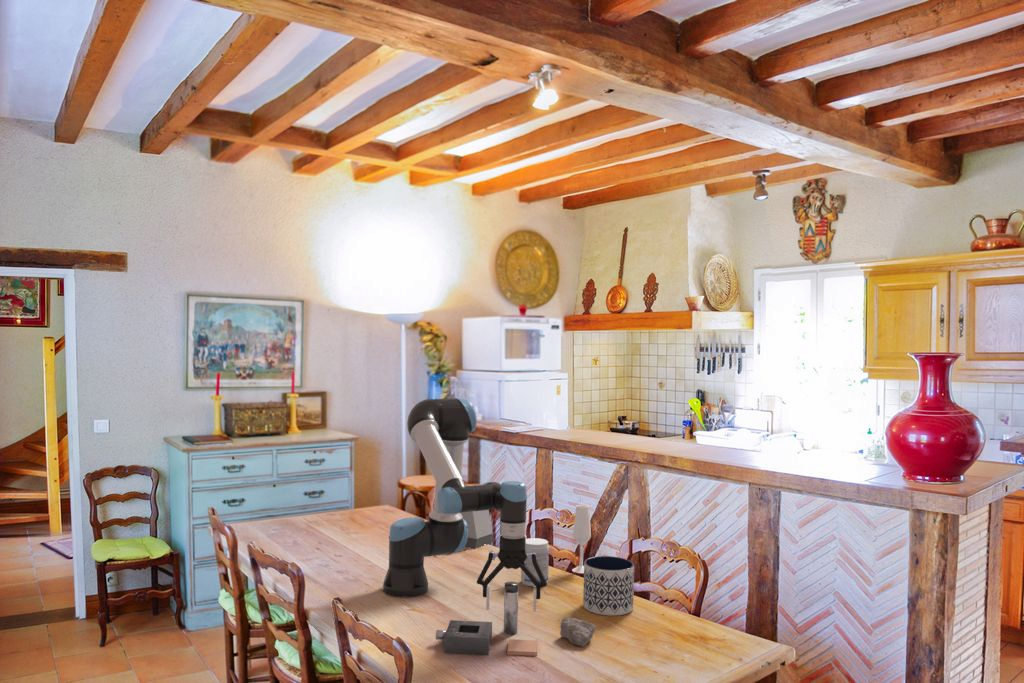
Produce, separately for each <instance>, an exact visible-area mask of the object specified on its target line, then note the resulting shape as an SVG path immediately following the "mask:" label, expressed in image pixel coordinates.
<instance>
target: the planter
mask: <svg viewBox="0 0 1024 683" xmlns="http://www.w3.org/2000/svg"><path fill="white" fill-rule="evenodd" d="M583 566H584V573H583V594H582V595H583V596H582V598H583V599H582V602H583V603H582V606H583V607H584V609H585V610H587V611H588V612H590V613H592V612H593V613H592V614H596V615H599V614H600V615H601V616H609V617H614V616H615V617H617V616H618V617H619V616H624V615H627V614H629V613H631V612H632V611H633V610H634V591H635V583H634V582H635V564H634V562H633V561H631V560H629V559H627V558H622V557H618V556H608V555H598V556H593V557H592V556H591V557H588V558H586V559H585V560H583ZM600 615H599V616H600Z"/></svg>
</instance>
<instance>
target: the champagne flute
mask: <svg viewBox="0 0 1024 683" xmlns="http://www.w3.org/2000/svg"><path fill="white" fill-rule="evenodd" d="M590 513H591V512H590V505H587V504H576V506H575V514H574V523H573V532H572V536H573V539H574V541H576V542H577V544H578V545H579V565H577V566H576V567H574V568H572V570H571V571H572V572H573V573H577V574H584V545H585V544H586V543H588V542H589V541H590V539H591V538H592V533H591V532H592V531H591V518H590V517H591V516H590V515H591V514H590Z"/></svg>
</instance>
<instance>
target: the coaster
mask: <svg viewBox="0 0 1024 683" xmlns="http://www.w3.org/2000/svg"><path fill="white" fill-rule="evenodd" d="M507 643H508V644H507V652H506V653H507V654H506V655H510V656H511V655H513V656H532V657H533V656H534V657H536V656H538V645H539V644H538V643H539V642H538V640H535V639H515V638H514V639H512V638H511V639H510V638H509V639H508V642H507Z"/></svg>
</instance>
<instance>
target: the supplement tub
mask: <svg viewBox="0 0 1024 683" xmlns="http://www.w3.org/2000/svg"><path fill="white" fill-rule="evenodd" d="M525 551H526V554H530V553H533V552H535V553H536V560H537V562H538V564H539V566H540V568H541V570H542V572H543V575H544V577H545V579H546V581H547V584H548V583H549V560H550V558H549V556H550V555H549V551H550V548H549V541H548V540H547V539H544V538H539V537H536V538H535V537H533V538H530V537H529V538H526V545H525ZM524 563H525V564H526V565H527V567H528V568H529V569H530V571H531V572H532V573H533V574H534V576H535V577H536V578H537V579H538V581H539V582H541V580H540V578H539V576H538V574H537V572H536V570H535V568H534V566H533V563H532V561H530V560H529V558H527V559H526V560H525V561H524ZM520 574H521V576H520V579H521V580H520V581H521V583H522V585H524V586H529V587H533V588H534V586H535V585H534V584H533V582H532V581H531V580H530V579H529V578H528V576H527V575H526V574H525V573H524V571H522V569H521V568H520Z"/></svg>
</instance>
